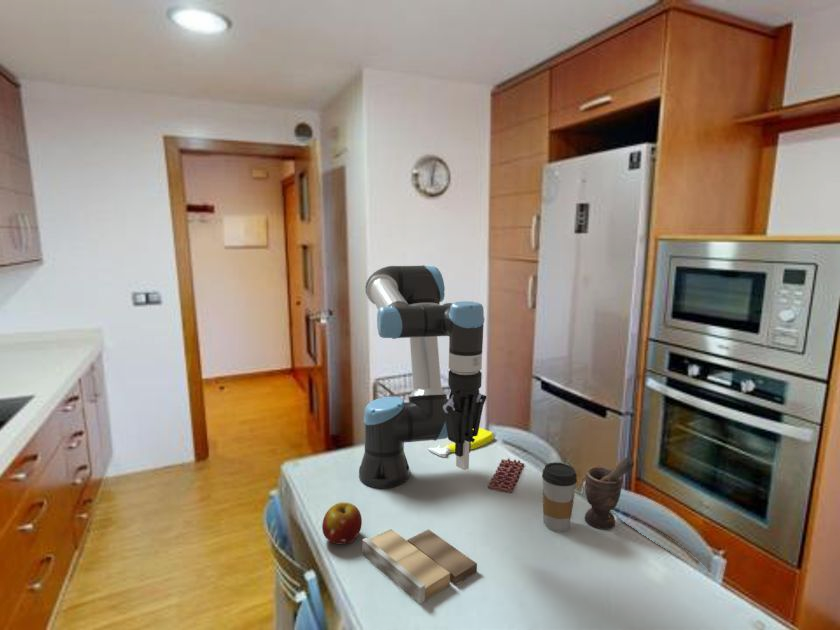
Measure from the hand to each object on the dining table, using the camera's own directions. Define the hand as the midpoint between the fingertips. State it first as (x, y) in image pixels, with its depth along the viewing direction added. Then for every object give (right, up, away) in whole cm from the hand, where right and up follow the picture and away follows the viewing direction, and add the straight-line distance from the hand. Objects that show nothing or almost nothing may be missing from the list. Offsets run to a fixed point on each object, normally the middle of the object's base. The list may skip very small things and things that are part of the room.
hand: (462, 467), depth 115 cm
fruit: (-29, -18, +2) cm, 34 cm away
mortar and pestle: (+37, -17, +9) cm, 42 cm away
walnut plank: (-5, -19, -5) cm, 21 cm away
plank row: (-13, -19, -8) cm, 25 cm away
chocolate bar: (+16, -14, +33) cm, 39 cm away
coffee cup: (+24, -17, +8) cm, 31 cm away
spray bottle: (+4, -10, +54) cm, 55 cm away
